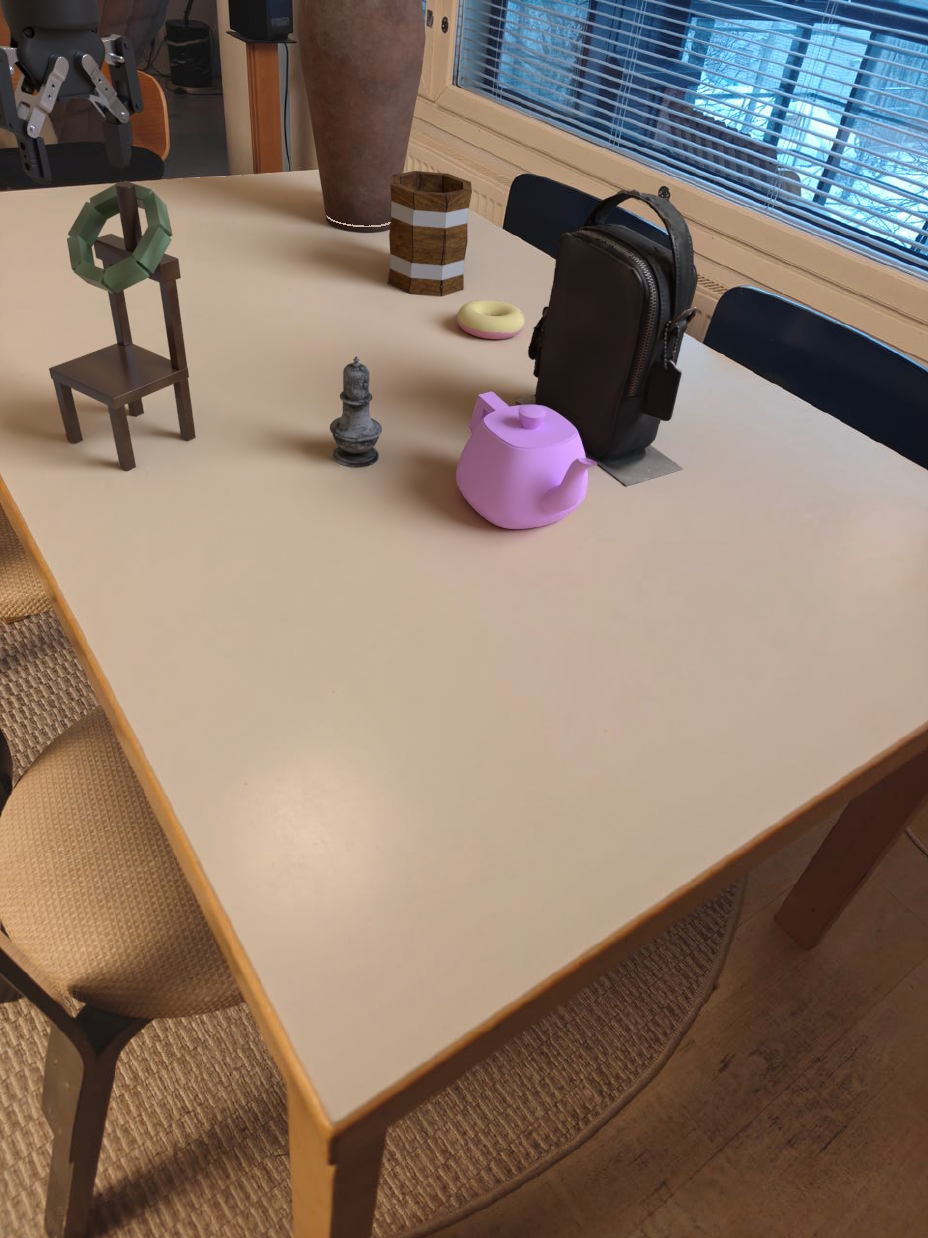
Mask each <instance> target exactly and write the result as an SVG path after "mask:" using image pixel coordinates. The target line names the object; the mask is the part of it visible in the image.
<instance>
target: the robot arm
mask: <svg viewBox="0 0 928 1238" xmlns="http://www.w3.org/2000/svg"><path fill="white" fill-rule="evenodd" d="M0 10H1V13H2V17H3V18H4V21H5V23H6V25H7V27H8V30H9V42H8V45H0V129H1V130H4V131H7V132H10V133H12V134H13V135H14V137H15V139H16V143H17V148H18V152H19V156H20V160H21V165H22V169H23V171H24V172H25V174H26V176H28V177H29V178H30V180H31V181H32V182H34V183H37V184H40V185H43V186H44V185H49V184H52V182H53V177H52V172H51V168H50V163H49V158H48V153H47V148H46V143H45V138H44V137H41V136H40V134H41V131H42V128H43V125H44V123H45V119H46V118H47V116H48V115H49V114H51V113H52V111H53V109H54V106H55V104H56V102H57V103H65V102H69V101H71V100H73V99H79V100H89V101H90V102H91V103H92V104H93V106H94V107H95V108H96V110H97V111H98V112H99V113H100V115H101V116H102V117H103V118H105V119H104V120H101V126H102V132H103V138H104V144H105V145H104V146H105V150H106V156H107V161H108V163H109V164H110V165H111V166H112V167H116V168H119V169H125V168H129V167H130V164H131V163H130V160H132V149H131V142H130V136H129V135H130V134H129V127H128V122H129V121H130V117H132V116H133V115H135V114H136V113H137V114H141V113H142V112H143V111H144V100H143V95H142V90H141V84H140V79H139V74H138V66H137V61H136V57H135V56H136V55H135V51H134V46H133V41H132V40H131V38H129V37H127V36H123V35H120V34H115V33H111V32H106V33H104V35H103V37H101V36H100V33H99V31H98V27H99V25H100V23H101V15H100V14H101V13H100V8H99V1H98V0H0ZM104 61H105V62H106V63H107V66H108V71H109V75H110V81H111V82H110V81H109V80H108V79H107V77H106V76H105V75H104V73H103V72H102V68H103V65H104ZM14 66H15V67H17V69H18V70H19V71H20V73H21V74H20V76H19V79H18V82H17V85H16V88H15V89H14V84H13V79H12V76H13V75H14V74H15V73H16V70H15V67H14ZM35 91H36V92H37V94H35ZM34 94H35V95H34Z"/></svg>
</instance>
